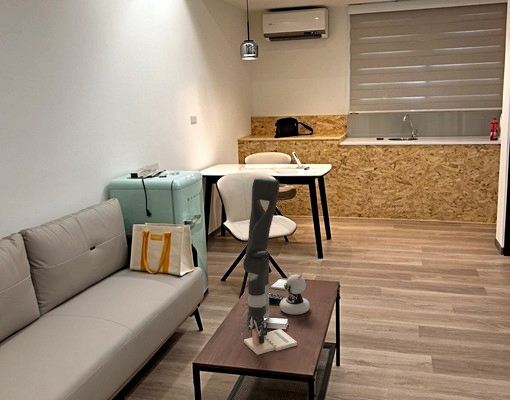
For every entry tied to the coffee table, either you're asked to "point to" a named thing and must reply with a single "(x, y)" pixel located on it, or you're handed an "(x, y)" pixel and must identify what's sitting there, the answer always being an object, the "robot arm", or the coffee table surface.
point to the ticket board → (279, 339)
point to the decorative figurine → (295, 296)
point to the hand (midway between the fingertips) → (257, 339)
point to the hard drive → (279, 284)
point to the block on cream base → (254, 343)
